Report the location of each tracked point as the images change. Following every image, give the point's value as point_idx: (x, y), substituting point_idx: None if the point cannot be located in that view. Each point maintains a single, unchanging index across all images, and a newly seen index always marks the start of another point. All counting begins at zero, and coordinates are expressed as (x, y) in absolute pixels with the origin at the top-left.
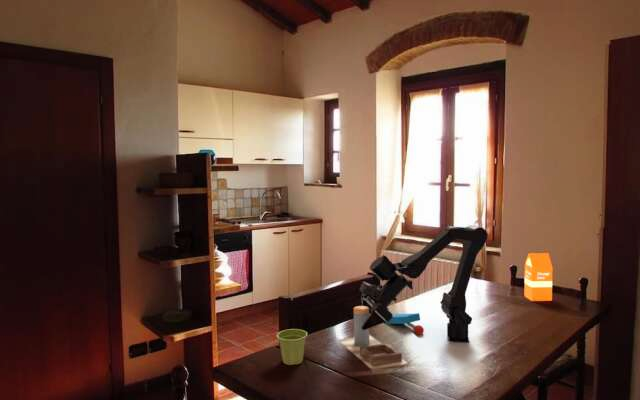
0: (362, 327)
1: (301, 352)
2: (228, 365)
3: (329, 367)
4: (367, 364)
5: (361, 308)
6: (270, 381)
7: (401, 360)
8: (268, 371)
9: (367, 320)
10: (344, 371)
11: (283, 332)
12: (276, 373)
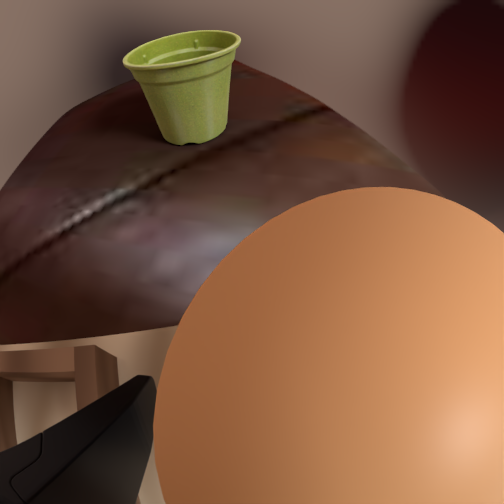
0: (128, 380)
1: (155, 112)
2: None
3: (95, 215)
4: (22, 348)
5: (432, 409)
6: (106, 106)
7: None
8: None
9: (55, 432)
10: (45, 259)
11: (228, 38)
12: (136, 108)
